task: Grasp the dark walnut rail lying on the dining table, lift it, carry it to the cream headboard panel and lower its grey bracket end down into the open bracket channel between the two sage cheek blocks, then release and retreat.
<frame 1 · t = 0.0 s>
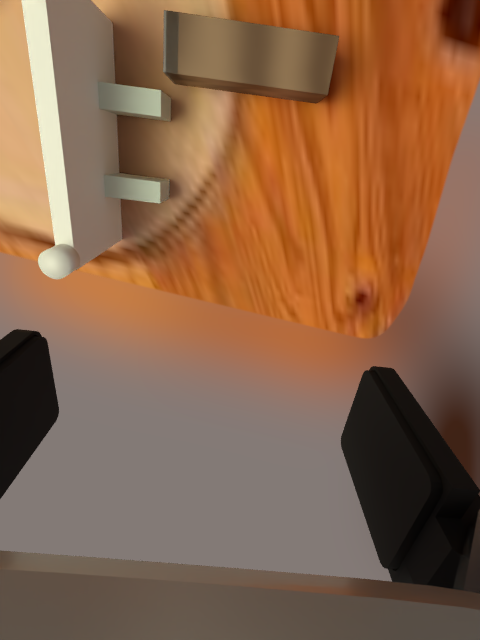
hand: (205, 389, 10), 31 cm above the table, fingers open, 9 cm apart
headboard post: (137, 147, 35), on the table
rail: (249, 69, 32), on the table
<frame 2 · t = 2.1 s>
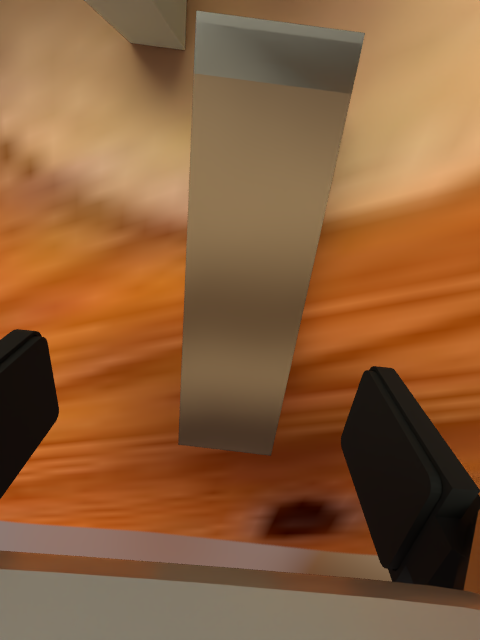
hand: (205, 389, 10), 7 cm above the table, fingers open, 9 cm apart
rail: (247, 259, 15), on the table
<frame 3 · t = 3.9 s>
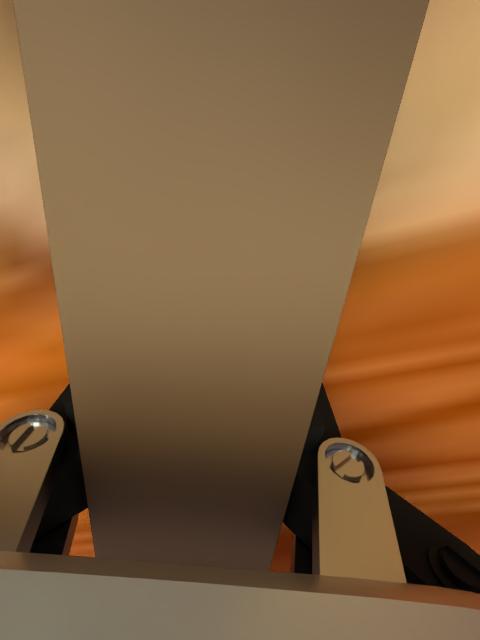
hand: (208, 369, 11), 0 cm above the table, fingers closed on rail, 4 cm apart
rail: (214, 310, 10), on the table, touching gripper
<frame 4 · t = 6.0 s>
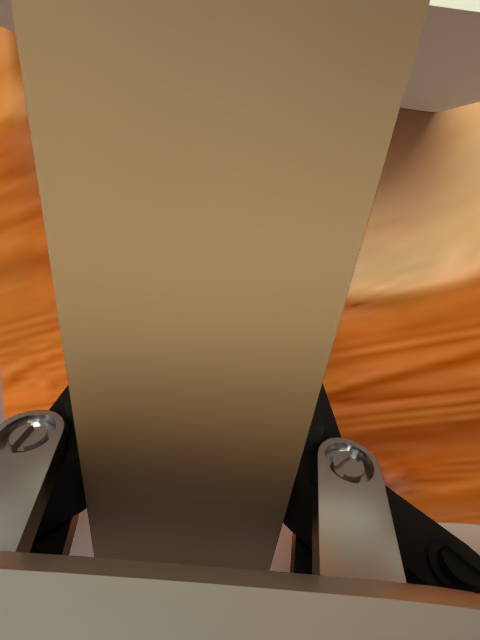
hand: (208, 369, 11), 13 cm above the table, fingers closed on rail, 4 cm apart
headboard post: (251, 130, 19), on the table
rail: (214, 311, 10), point 12 cm above the table, touching gripper
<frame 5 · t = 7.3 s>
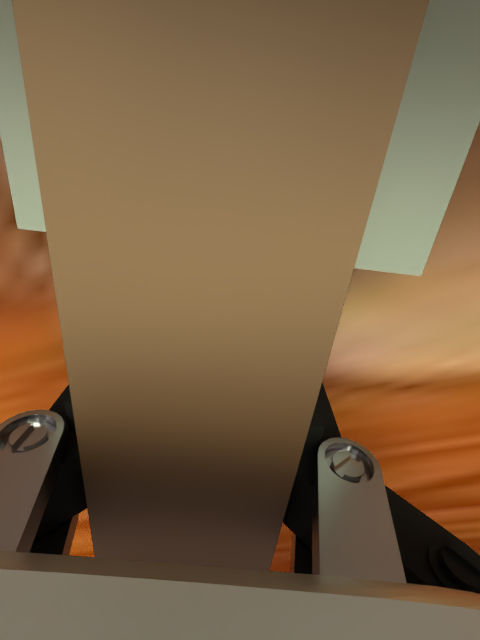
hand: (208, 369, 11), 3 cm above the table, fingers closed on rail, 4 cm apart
headboard post: (243, 104, 10), on the table
rail: (214, 311, 10), point 3 cm above the table, touching gripper
when the fingers open (2 cm above the table, at t = 8.3 s): rail drops 1 cm, on the table.
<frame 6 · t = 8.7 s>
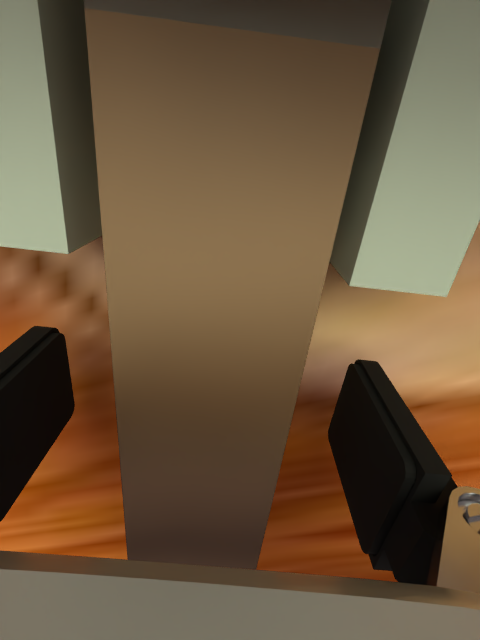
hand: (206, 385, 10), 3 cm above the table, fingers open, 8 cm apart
headboard post: (235, 95, 9), on the table
rail: (221, 296, 12), on the table
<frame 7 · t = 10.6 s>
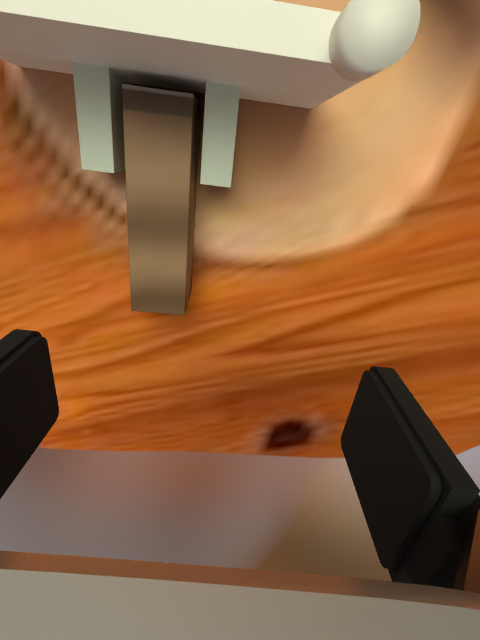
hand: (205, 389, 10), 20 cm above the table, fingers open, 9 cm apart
headboard post: (170, 121, 24), on the table
rail: (170, 207, 26), on the table
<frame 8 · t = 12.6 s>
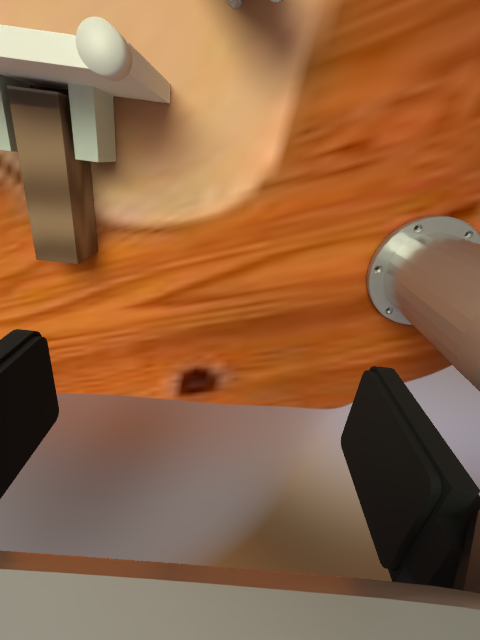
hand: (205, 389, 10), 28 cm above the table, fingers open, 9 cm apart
headboard post: (63, 114, 31), on the table
rail: (72, 182, 34), on the table
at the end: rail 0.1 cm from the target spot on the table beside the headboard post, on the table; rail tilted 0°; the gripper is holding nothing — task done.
